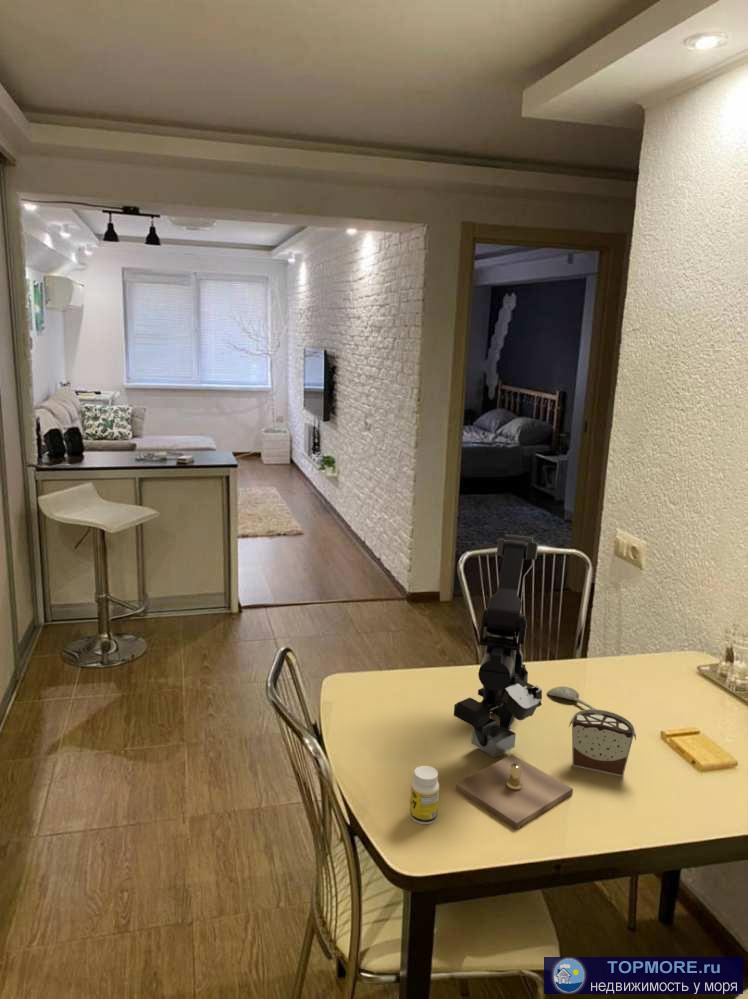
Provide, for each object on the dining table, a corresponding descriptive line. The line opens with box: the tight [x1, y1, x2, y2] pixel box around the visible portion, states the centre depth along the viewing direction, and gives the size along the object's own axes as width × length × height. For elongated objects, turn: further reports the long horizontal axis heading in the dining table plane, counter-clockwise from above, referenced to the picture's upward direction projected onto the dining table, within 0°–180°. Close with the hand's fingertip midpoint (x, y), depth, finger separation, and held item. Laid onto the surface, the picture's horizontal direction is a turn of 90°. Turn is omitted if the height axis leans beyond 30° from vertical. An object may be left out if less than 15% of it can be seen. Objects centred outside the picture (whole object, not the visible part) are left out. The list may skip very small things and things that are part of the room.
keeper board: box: [455, 753, 574, 830], centre depth 132 cm, size 16×14×1 cm
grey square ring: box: [471, 721, 517, 758], centre depth 144 cm, size 6×6×3 cm
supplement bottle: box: [409, 765, 440, 825], centre depth 123 cm, size 5×5×8 cm
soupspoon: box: [546, 686, 596, 709], centre depth 163 cm, size 22×3×7 cm
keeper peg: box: [507, 763, 522, 791], centre depth 131 cm, size 3×3×4 cm
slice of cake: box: [568, 708, 637, 777], centre depth 141 cm, size 12×6×10 cm, turn 71°
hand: (493, 740), depth 144 cm, fingers closed on grey square ring, 6 cm apart
